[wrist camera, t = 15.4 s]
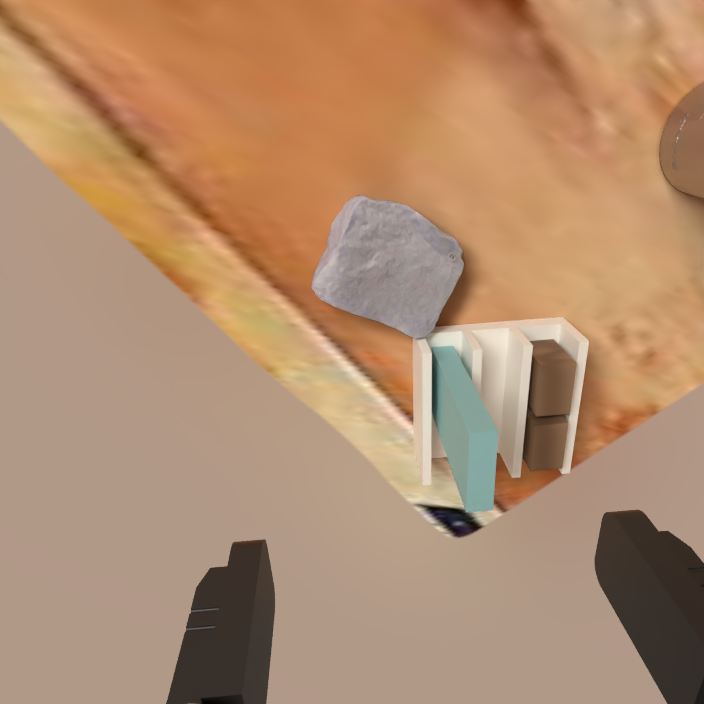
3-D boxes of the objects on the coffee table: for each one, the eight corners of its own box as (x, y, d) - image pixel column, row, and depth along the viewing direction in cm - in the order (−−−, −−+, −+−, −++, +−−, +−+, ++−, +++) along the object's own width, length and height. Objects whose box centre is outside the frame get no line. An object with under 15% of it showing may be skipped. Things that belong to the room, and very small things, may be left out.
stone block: (345, 182, 46) (303, 291, 47) (354, 180, 41) (308, 300, 43) (464, 235, 48) (420, 335, 50) (485, 238, 44) (436, 348, 46)
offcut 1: (553, 339, 49) (576, 363, 45) (548, 386, 51) (569, 413, 47) (521, 341, 49) (541, 366, 45) (517, 388, 51) (536, 416, 47)
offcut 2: (547, 395, 52) (568, 423, 47) (542, 437, 54) (562, 468, 49) (516, 397, 52) (535, 425, 47) (512, 439, 54) (530, 471, 49)
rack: (562, 317, 50) (589, 341, 45) (547, 440, 56) (569, 473, 51) (412, 328, 50) (422, 354, 45) (413, 450, 56) (422, 485, 51)
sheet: (453, 345, 49) (498, 431, 36) (451, 409, 52) (492, 510, 39) (431, 347, 49) (469, 433, 36) (431, 411, 52) (466, 512, 39)
